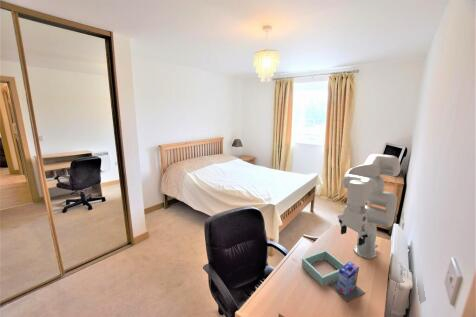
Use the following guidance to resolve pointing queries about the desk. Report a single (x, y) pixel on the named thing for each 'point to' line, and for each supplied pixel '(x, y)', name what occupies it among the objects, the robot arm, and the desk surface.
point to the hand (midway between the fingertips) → (351, 238)
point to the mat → (349, 296)
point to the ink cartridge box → (347, 278)
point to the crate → (321, 279)
